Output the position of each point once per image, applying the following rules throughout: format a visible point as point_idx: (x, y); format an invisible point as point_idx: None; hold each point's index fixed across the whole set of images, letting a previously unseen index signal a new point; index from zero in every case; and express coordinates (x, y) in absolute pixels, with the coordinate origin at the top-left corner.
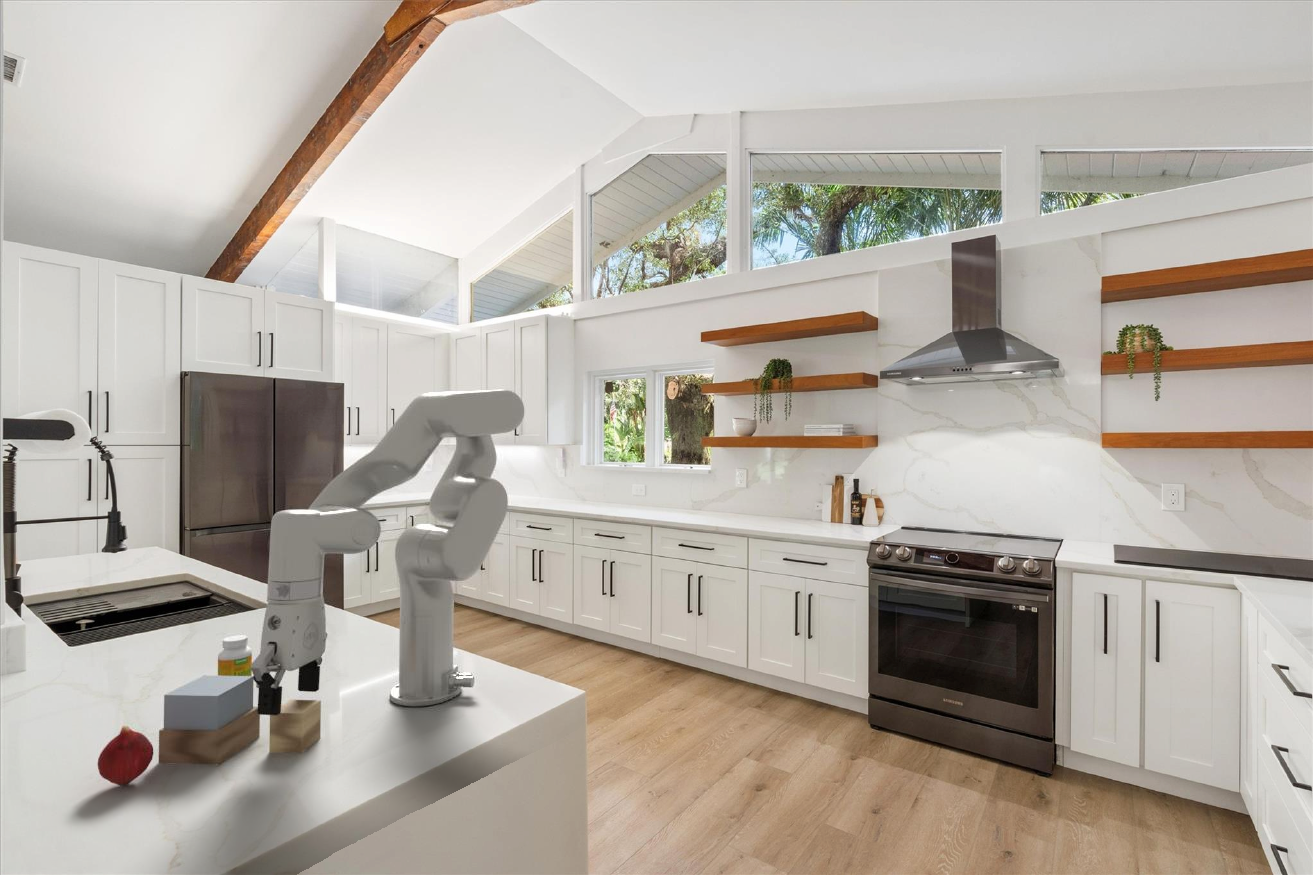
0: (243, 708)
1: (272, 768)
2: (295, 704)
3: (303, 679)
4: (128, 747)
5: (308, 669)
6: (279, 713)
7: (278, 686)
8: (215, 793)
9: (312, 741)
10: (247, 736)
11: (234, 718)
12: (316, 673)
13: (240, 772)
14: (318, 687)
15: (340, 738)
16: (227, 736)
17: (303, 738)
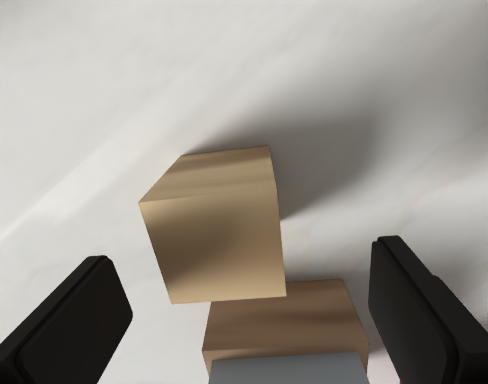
0: (251, 373)
1: (354, 159)
2: (202, 264)
3: (101, 343)
4: None
5: (55, 382)
6: (384, 236)
7: (463, 371)
8: (472, 200)
9: (217, 153)
10: (252, 299)
11: (289, 358)
12: (48, 324)
13: (375, 216)
14: (86, 261)
15: (165, 95)
16: (326, 320)
17: (260, 156)
